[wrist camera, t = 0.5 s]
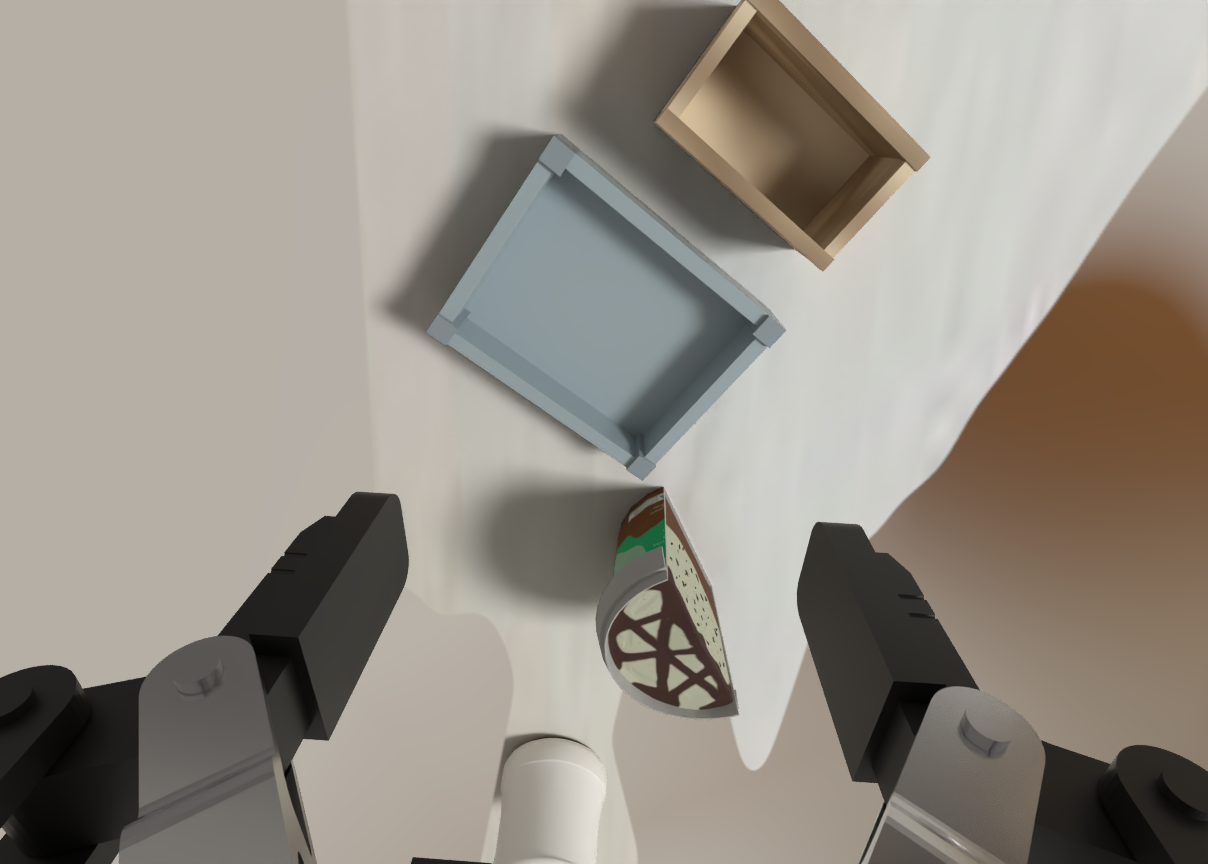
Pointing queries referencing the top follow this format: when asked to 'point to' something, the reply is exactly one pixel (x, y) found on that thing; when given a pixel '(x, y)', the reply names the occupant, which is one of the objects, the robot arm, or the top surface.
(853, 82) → the small crate
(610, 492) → the top surface
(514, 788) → the vodka
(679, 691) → the food container
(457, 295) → the crate
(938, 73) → the top surface
